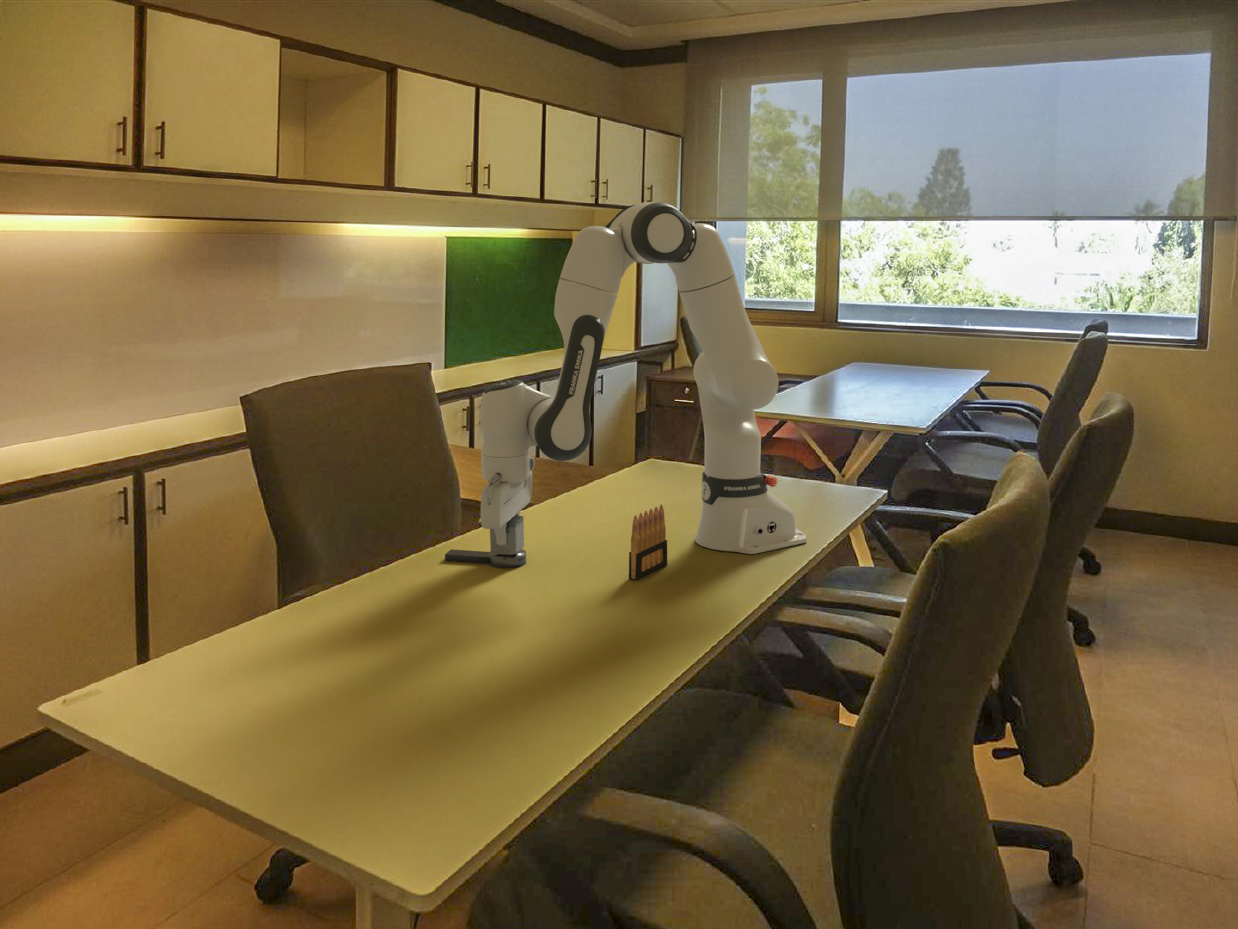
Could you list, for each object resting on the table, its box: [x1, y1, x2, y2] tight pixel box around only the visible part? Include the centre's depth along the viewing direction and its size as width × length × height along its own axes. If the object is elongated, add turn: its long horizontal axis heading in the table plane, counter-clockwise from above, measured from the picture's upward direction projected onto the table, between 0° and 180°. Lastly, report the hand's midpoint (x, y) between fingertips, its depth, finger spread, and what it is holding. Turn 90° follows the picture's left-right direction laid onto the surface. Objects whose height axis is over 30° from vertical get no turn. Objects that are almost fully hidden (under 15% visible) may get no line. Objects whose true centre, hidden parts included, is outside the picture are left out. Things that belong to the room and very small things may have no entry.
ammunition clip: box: [628, 504, 668, 582], centre depth 197 cm, size 11×2×12 cm, turn 146°
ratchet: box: [444, 548, 527, 570], centre depth 204 cm, size 16×7×5 cm, turn 78°
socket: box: [489, 515, 525, 554], centre depth 203 cm, size 5×5×6 cm
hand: (507, 539), depth 203 cm, fingers closed on socket, 5 cm apart
